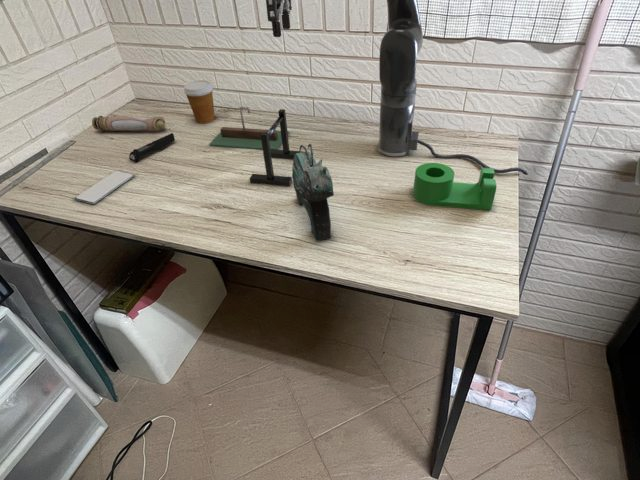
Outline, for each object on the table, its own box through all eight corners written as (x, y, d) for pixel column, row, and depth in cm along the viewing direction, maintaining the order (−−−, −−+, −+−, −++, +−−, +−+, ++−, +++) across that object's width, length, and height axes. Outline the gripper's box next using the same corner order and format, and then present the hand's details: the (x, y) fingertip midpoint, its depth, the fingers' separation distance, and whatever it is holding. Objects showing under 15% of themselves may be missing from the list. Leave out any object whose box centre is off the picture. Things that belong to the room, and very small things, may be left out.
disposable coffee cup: (186, 123, 145) (176, 88, 137) (201, 112, 152) (193, 78, 144) (209, 127, 142) (201, 91, 134) (224, 115, 149) (217, 81, 141)
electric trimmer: (178, 143, 134) (176, 134, 132) (136, 163, 125) (132, 153, 123) (171, 140, 136) (168, 131, 134) (129, 160, 127) (125, 150, 125)
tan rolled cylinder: (103, 126, 146) (97, 112, 143) (171, 127, 143) (167, 113, 140) (94, 133, 142) (88, 119, 139) (164, 134, 139) (160, 120, 136)
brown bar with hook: (277, 138, 132) (273, 107, 125) (275, 140, 130) (271, 109, 124) (224, 134, 136) (217, 104, 129) (221, 137, 134) (215, 106, 128)
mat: (288, 133, 136) (288, 131, 135) (277, 150, 127) (276, 149, 126) (225, 128, 140) (224, 127, 140) (209, 145, 131) (209, 144, 131)
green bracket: (412, 203, 102) (414, 181, 98) (413, 183, 109) (416, 161, 105) (490, 210, 99) (496, 186, 95) (487, 189, 106) (493, 166, 102)
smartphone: (73, 198, 111) (115, 170, 121) (74, 199, 111) (116, 171, 122) (93, 203, 109) (134, 174, 119) (93, 205, 109) (135, 175, 119)
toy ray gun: (338, 242, 93) (335, 160, 80) (309, 248, 92) (302, 167, 79) (313, 194, 108) (307, 119, 95) (288, 199, 107) (279, 124, 94)
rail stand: (270, 153, 126) (264, 107, 117) (306, 156, 123) (302, 109, 114) (250, 183, 114) (241, 134, 105) (289, 186, 111) (284, 137, 102)
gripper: (280, -30, 106) (287, 39, 116) (296, -39, 116) (301, 26, 127) (252, -30, 107) (261, 39, 118) (270, -38, 118) (277, 26, 128)
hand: (282, 32), depth 122 cm, fingers open, 8 cm apart
